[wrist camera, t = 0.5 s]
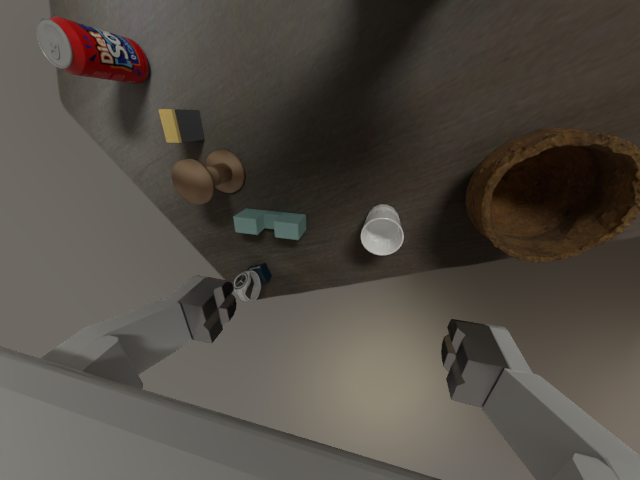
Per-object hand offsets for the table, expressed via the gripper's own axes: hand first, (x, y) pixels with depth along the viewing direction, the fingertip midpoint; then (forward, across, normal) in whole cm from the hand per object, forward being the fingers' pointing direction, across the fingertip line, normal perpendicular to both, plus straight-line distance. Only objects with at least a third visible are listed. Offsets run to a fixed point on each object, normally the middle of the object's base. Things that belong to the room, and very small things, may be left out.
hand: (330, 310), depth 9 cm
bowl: (+46, -25, +4) cm, 52 cm away
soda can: (+46, +53, -17) cm, 72 cm away
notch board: (+46, +23, +17) cm, 54 cm away
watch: (+46, +29, +34) cm, 64 cm away
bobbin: (+46, +35, +6) cm, 58 cm away
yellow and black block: (+46, +41, -4) cm, 61 cm away
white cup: (+46, -3, +14) cm, 48 cm away
